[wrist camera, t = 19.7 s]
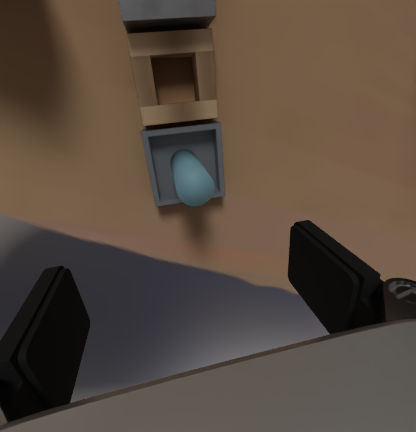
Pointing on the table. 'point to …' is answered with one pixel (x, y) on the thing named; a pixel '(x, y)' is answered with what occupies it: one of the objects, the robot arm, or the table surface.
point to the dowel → (191, 178)
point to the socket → (174, 48)
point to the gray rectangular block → (166, 15)
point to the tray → (176, 140)
